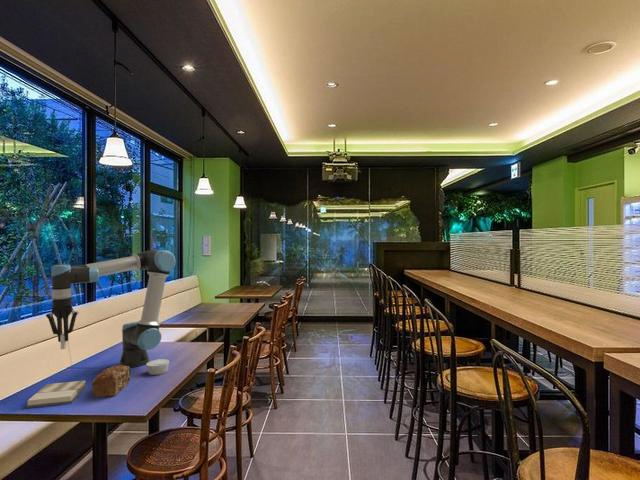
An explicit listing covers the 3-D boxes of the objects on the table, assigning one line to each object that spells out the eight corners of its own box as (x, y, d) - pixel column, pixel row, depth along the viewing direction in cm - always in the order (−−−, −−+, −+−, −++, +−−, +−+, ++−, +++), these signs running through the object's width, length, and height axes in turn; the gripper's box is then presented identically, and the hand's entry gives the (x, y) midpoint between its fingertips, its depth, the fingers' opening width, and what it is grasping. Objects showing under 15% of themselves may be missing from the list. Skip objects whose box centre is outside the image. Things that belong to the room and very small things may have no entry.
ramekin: (146, 377, 201) (146, 366, 201) (146, 370, 211) (146, 360, 211) (169, 373, 205) (169, 363, 205) (168, 367, 215) (168, 357, 215)
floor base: (86, 386, 189) (86, 380, 189) (72, 403, 170) (72, 395, 170) (46, 390, 185) (46, 383, 185) (26, 408, 165) (26, 400, 165)
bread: (116, 397, 176) (115, 374, 176) (90, 398, 175) (90, 375, 175) (131, 382, 194) (131, 361, 194) (108, 383, 193) (108, 362, 193)
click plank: (85, 384, 188) (85, 380, 188) (77, 393, 178) (77, 388, 178) (47, 388, 184) (46, 384, 184) (36, 397, 174) (36, 393, 174)
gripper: (42, 300, 179) (44, 352, 180) (75, 298, 183) (76, 349, 183) (48, 297, 187) (50, 347, 187) (80, 295, 190) (81, 344, 191)
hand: (63, 348), depth 185 cm, fingers closed
